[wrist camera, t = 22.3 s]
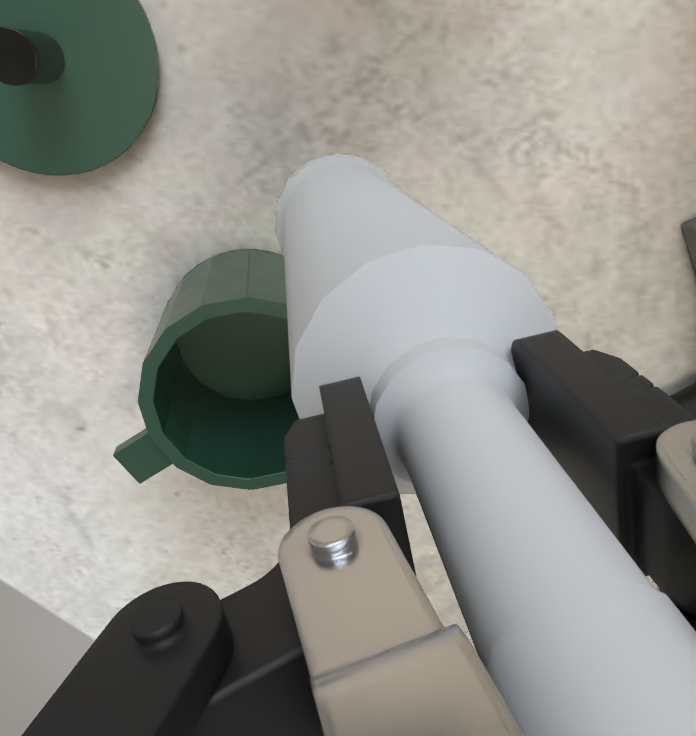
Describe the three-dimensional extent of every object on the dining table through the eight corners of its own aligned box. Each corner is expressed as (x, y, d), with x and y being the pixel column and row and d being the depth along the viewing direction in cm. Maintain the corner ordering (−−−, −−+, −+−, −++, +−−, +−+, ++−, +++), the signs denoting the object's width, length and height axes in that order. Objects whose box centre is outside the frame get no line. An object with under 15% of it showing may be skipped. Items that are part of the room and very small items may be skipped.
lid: (-128, 16, 36) (-198, 6, 30) (57, -126, 34) (17, -163, 29) (37, 213, 41) (2, 235, 36) (204, 97, 39) (195, 102, 34)
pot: (96, 330, 45) (51, 401, 35) (309, 191, 42) (323, 227, 33) (201, 451, 49) (187, 543, 40) (397, 332, 47) (431, 398, 38)
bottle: (375, 289, 29) (797, 1060, 6) (259, 257, 28) (258, 1065, 5) (415, 171, 27) (1214, 653, 4) (293, 132, 26) (526, 515, 3)
